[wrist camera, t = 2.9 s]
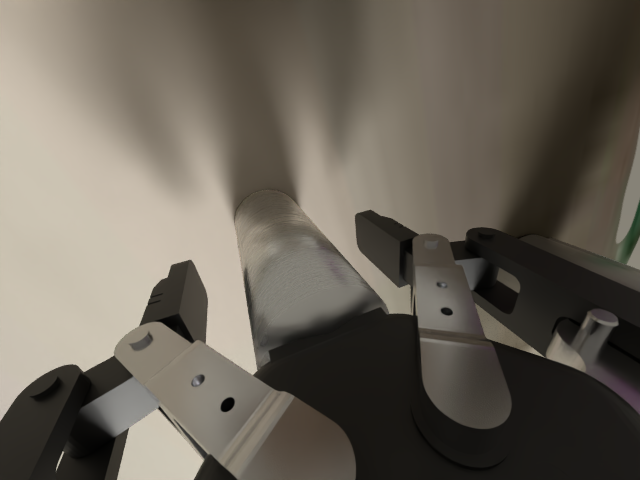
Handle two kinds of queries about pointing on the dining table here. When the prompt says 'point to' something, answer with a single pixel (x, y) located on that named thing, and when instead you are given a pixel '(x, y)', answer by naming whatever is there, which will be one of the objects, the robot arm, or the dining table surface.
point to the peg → (293, 275)
